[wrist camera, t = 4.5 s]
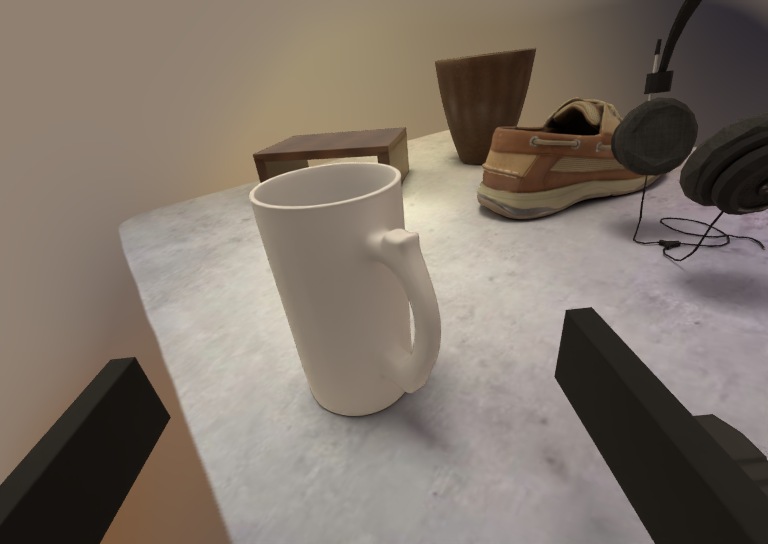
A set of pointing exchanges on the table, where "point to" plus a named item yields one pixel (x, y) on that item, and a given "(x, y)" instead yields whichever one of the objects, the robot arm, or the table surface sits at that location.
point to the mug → (350, 282)
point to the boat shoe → (556, 163)
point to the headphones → (676, 140)
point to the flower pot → (483, 97)
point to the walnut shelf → (334, 150)
